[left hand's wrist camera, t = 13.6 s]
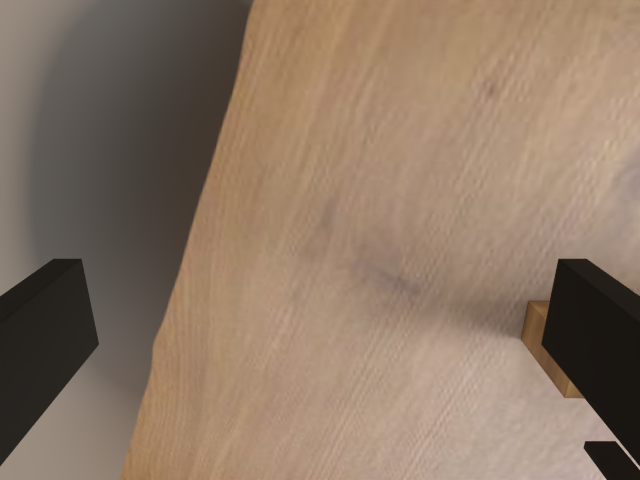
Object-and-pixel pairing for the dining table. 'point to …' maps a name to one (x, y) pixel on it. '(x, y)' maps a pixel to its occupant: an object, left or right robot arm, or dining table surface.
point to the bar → (533, 342)
